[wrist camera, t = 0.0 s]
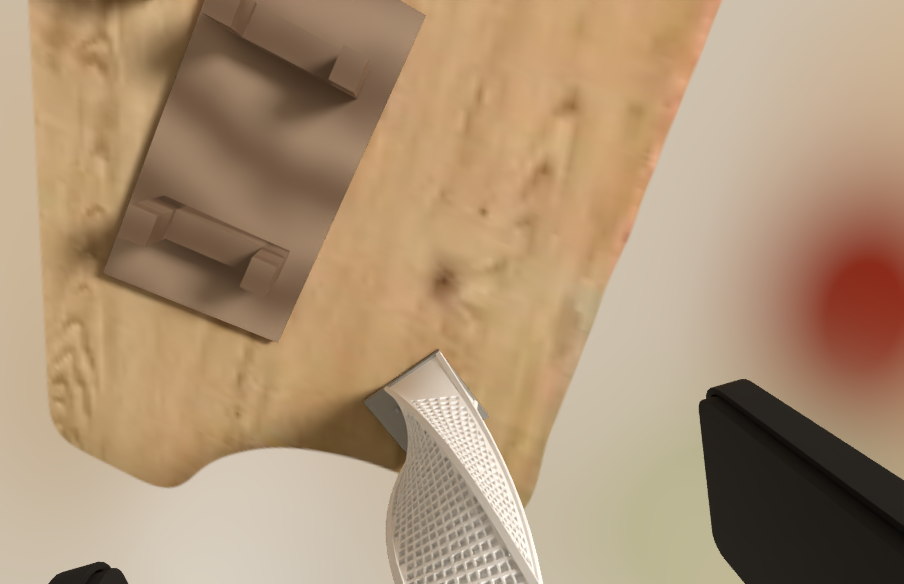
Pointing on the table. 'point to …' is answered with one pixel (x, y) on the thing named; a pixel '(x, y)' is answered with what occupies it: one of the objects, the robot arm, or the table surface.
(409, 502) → the skyscraper
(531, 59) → the table surface
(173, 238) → the rack
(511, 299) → the table surface
